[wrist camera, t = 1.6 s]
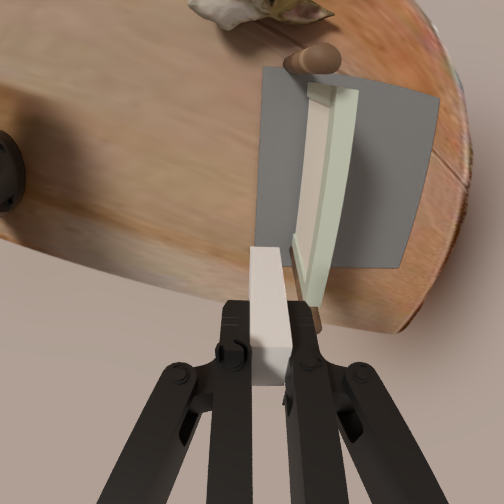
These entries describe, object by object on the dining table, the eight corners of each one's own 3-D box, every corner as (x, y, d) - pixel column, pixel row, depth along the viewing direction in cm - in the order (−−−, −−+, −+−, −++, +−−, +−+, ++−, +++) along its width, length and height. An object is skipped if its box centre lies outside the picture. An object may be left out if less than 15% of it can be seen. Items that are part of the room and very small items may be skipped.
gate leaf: (304, 245, 42) (320, 306, 32) (291, 244, 42) (304, 306, 32) (323, 83, 30) (358, 90, 20) (307, 81, 30) (336, 86, 20)
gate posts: (287, 253, 45) (300, 336, 32) (282, 55, 30) (306, 41, 16) (303, 253, 45) (322, 334, 32) (302, 55, 30) (340, 43, 16)
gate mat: (253, 263, 46) (253, 265, 46) (263, 66, 31) (263, 66, 30) (397, 266, 47) (398, 268, 46) (438, 97, 31) (439, 98, 31)
